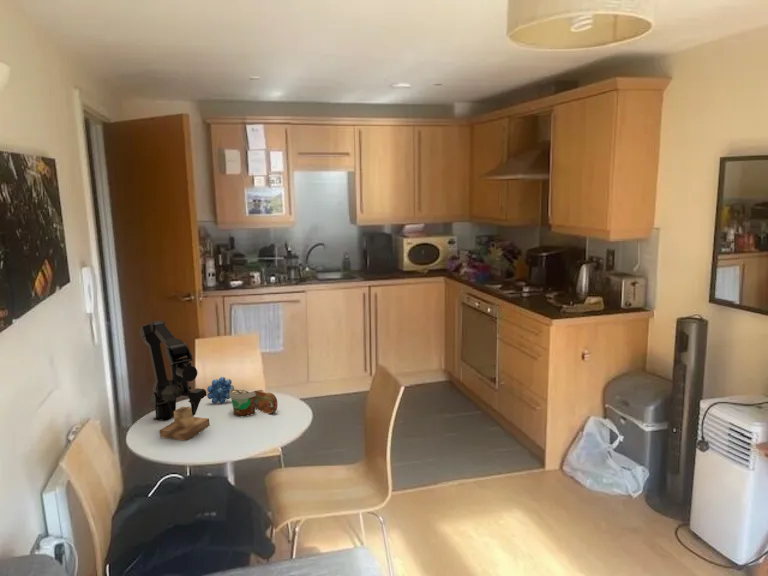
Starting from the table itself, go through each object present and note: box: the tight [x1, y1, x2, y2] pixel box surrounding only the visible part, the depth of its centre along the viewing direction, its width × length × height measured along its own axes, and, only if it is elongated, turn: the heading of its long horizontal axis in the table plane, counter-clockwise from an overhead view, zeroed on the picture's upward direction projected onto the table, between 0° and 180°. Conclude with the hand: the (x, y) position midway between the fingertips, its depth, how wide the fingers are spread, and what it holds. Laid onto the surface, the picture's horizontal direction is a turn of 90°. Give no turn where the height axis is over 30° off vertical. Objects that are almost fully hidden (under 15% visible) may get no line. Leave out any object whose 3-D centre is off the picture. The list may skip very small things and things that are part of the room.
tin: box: [254, 389, 278, 415], centre depth 241 cm, size 15×3×8 cm, turn 48°
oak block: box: [173, 406, 195, 427], centre depth 223 cm, size 5×5×6 cm
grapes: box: [206, 376, 235, 404], centre depth 252 cm, size 12×7×12 cm, turn 97°
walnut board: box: [159, 416, 211, 442], centre depth 223 cm, size 12×14×3 cm
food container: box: [229, 387, 256, 417], centre depth 238 cm, size 12×6×10 cm, turn 62°
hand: (183, 414), depth 222 cm, fingers open, 9 cm apart
